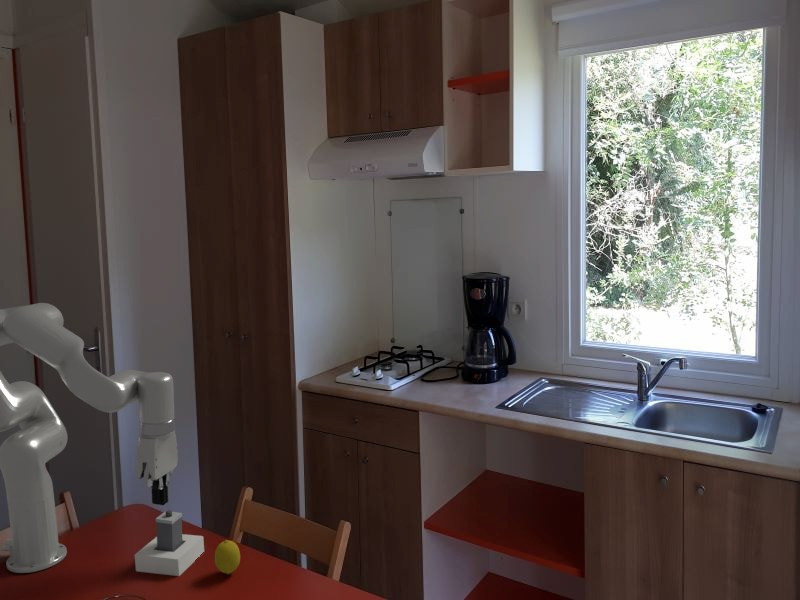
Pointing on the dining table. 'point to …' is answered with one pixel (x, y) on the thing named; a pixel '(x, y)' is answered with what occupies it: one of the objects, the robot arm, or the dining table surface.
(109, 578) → the dining table surface
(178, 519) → the plug
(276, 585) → the dining table surface
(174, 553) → the socket
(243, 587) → the dining table surface
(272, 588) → the dining table surface
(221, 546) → the lemon
